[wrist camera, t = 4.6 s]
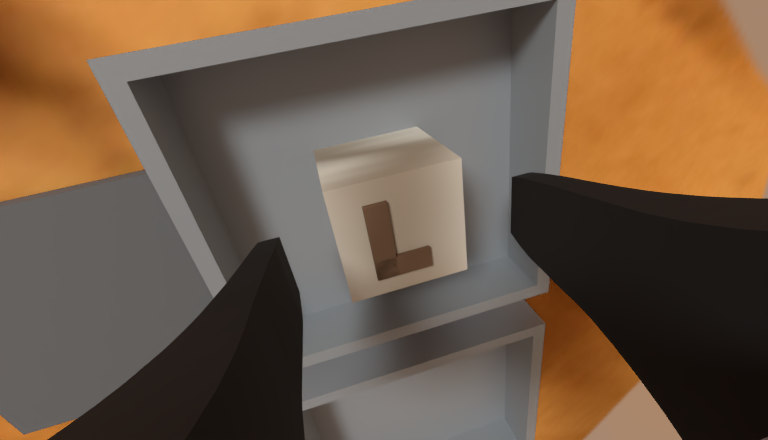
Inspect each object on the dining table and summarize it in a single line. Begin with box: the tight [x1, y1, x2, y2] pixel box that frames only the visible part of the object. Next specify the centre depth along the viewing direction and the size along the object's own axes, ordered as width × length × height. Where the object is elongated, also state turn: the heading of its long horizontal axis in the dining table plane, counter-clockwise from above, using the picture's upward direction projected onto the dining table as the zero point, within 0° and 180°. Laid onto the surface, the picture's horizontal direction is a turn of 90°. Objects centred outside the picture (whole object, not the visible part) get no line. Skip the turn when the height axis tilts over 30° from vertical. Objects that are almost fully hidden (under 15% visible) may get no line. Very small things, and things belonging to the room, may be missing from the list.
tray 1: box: [87, 0, 576, 368], centre depth 13 cm, size 13×12×3 cm
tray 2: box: [302, 300, 545, 440], centre depth 20 cm, size 13×12×3 cm
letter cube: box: [313, 127, 467, 303], centre depth 12 cm, size 4×4×4 cm
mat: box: [0, 170, 213, 434], centre depth 14 cm, size 10×10×1 cm
